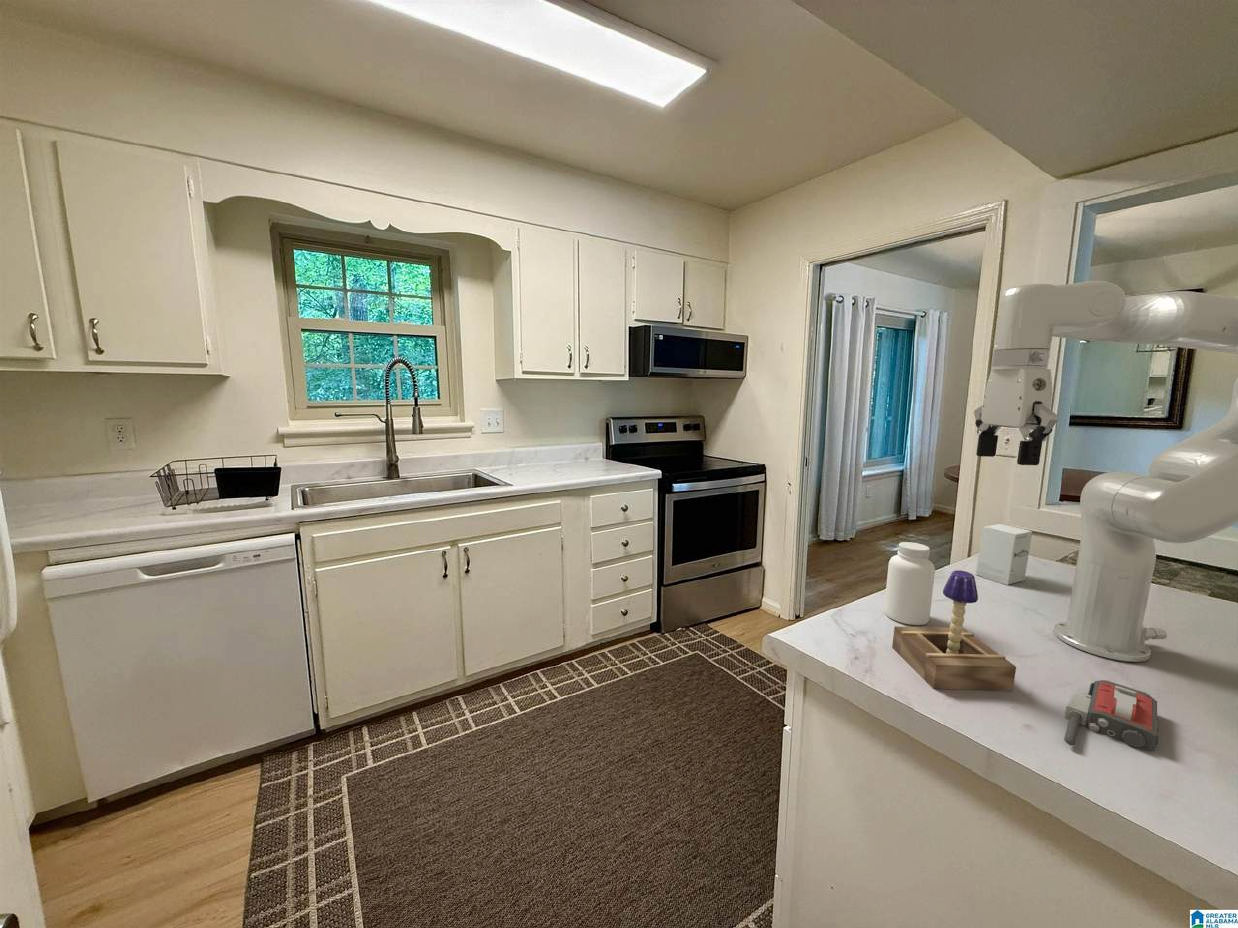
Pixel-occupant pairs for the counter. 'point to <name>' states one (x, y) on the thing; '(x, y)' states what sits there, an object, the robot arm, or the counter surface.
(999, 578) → the supplement box
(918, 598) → the pill bottle
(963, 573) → the toy lamp
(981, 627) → the counter surface
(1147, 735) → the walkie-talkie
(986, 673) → the tan wooden square frame
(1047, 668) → the counter surface
